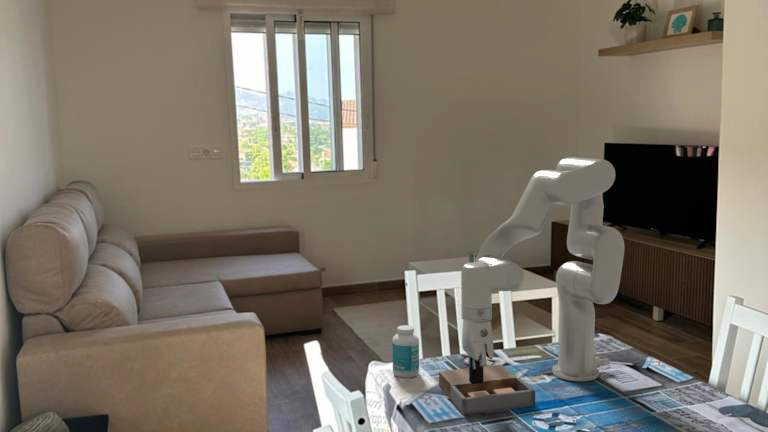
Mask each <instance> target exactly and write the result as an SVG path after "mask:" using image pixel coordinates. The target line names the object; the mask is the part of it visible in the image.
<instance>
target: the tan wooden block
mask: <svg viewBox="0 0 768 432" xmlns="http://www.w3.org/2000/svg"><path fill="white" fill-rule="evenodd" d="M516 378H518V377H517V376H516V375H515V374H513V373H512V372H511V371H510V370H509V369H507V368H506V366H504V364H493V365H492V364H491V365H487V366H484V369H483V383H478V384H472V383H471V382H470V381H469V367H468V368H459V369H449V370H440V371H438V386H439V388H440V389H441V390H442V391H443V392H444V394H446V395H447V396H448V398H449V399H450V386H455V387H456V388H457V389H458V390H459V391H460V392H461V393H462V394H463V395H464V396H465V397H467V393H470V392H478V391H487V392H488V393H489V394H492V393H493V390H494V389H502V388H512V389H513V390H516Z"/></svg>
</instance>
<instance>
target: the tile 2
mask: <svg viewBox="0 0 768 432" xmlns="http://www.w3.org/2000/svg"><path fill="white" fill-rule="evenodd" d="M514 391H515V390H513V389H512V388H502V389H494V390H493V394H499V393H507V392H514Z"/></svg>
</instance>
